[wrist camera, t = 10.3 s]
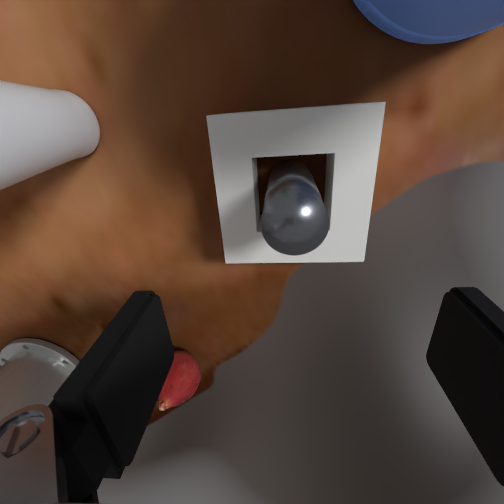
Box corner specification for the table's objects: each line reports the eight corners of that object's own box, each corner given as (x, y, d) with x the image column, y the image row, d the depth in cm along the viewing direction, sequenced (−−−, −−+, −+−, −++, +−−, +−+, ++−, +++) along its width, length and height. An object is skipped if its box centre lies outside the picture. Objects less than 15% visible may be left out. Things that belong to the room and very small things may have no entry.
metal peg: (312, 203, 26) (327, 255, 17) (269, 205, 26) (262, 255, 17) (313, 158, 24) (331, 190, 15) (267, 161, 24) (258, 193, 16)
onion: (216, 355, 37) (200, 414, 30) (189, 373, 39) (168, 432, 32) (182, 329, 35) (156, 386, 28) (156, 349, 37) (126, 406, 30)
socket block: (353, 241, 27) (363, 261, 24) (232, 243, 28) (225, 263, 25) (368, 102, 22) (385, 101, 18) (217, 113, 23) (206, 115, 19)
